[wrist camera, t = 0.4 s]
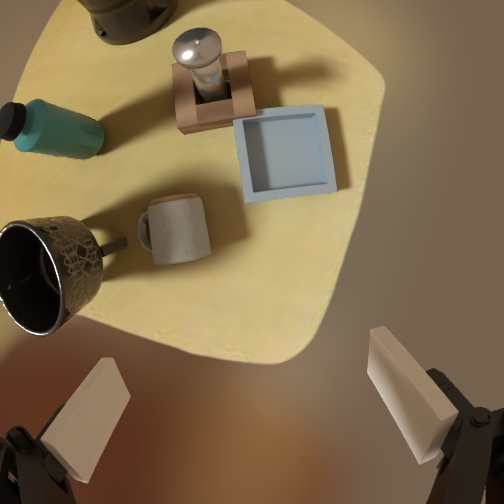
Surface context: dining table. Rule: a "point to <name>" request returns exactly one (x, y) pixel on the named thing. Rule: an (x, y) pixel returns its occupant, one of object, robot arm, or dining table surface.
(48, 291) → the planter
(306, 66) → the dining table surface
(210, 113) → the block
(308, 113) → the tray
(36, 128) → the beverage bottle
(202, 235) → the ceramic mug
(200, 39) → the pin
